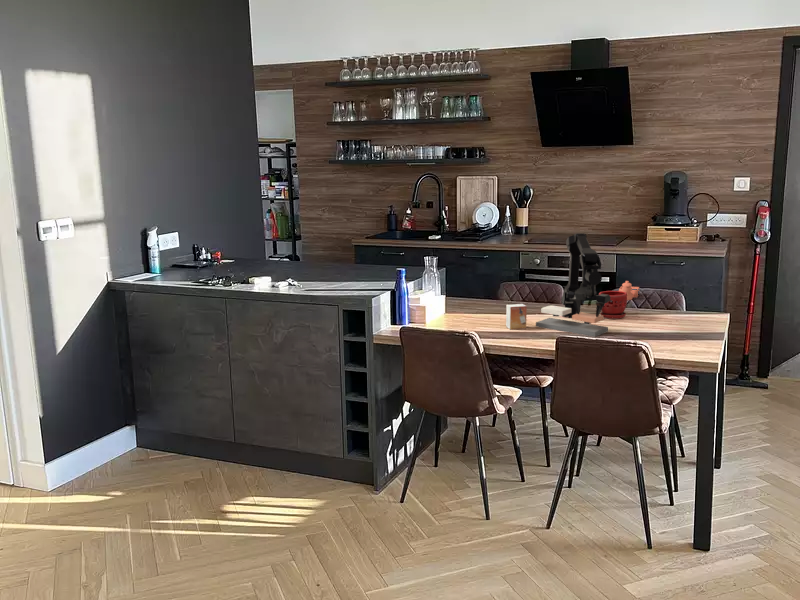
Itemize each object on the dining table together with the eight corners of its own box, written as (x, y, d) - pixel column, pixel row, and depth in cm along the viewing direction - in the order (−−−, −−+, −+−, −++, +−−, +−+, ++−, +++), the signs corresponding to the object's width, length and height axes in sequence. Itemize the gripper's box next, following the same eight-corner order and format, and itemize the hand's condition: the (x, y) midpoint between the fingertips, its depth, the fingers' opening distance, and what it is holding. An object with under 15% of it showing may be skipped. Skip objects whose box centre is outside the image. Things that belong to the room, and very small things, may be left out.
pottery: (621, 293, 435) (621, 275, 433) (638, 294, 431) (639, 276, 429) (616, 299, 418) (616, 281, 416) (634, 301, 415) (635, 282, 413)
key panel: (549, 321, 371) (549, 317, 370) (608, 331, 351) (608, 327, 351) (535, 326, 362) (535, 322, 362) (594, 336, 342) (595, 332, 342)
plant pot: (622, 313, 385) (623, 289, 382) (629, 320, 372) (630, 295, 369) (595, 314, 385) (596, 290, 383) (601, 320, 372) (602, 295, 370)
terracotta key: (581, 319, 357) (581, 312, 356) (603, 323, 350) (603, 315, 349) (571, 322, 351) (572, 315, 351) (594, 326, 344) (594, 318, 343)
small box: (509, 329, 358) (510, 306, 355) (505, 326, 363) (506, 304, 361) (526, 328, 359) (527, 305, 357) (522, 325, 364) (522, 303, 362)
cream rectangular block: (550, 312, 367) (550, 305, 367) (571, 315, 360) (571, 308, 359) (541, 315, 362) (541, 308, 361) (562, 319, 354) (562, 311, 354)
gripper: (560, 281, 347) (559, 315, 350) (599, 285, 335) (597, 321, 338) (573, 277, 355) (572, 311, 358) (611, 282, 343) (610, 317, 346)
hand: (587, 315), depth 350 cm, fingers open, 9 cm apart
